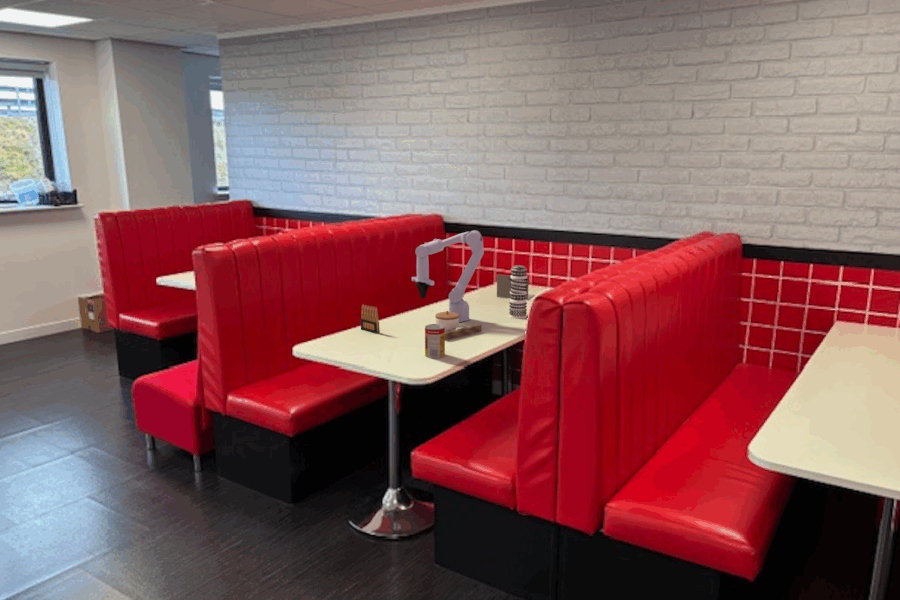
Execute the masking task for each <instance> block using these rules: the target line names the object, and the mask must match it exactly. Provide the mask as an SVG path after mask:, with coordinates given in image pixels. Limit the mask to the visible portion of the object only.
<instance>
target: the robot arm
mask: <svg viewBox="0 0 900 600" xmlns="http://www.w3.org/2000/svg"><path fill="white" fill-rule="evenodd" d="M457 243H462V244H467V246H468V247H469V248H470V250H471V253H472V254H471V256H470V258H469V260H468V262H467V264H466V266H465V268H464V270H463V271H462V273H461V275H460V277H459V279H458V281H457V283H456V284H455V287H454V288H452V289H451V291H450V292H449V293H448V300H449V301H448V312H455V313H458V314H459V323H462V322H466V321H471V318H470V305H469V303H468V301H466V300H464V299H463V298H464V296H465V294H466V293H465V291H466V289H467V286H468V284H469V283H470V281H471V279H472V277H473V274H474V273H475V271H476V269H477V267H478V265H479V263H480V261H481V260H482V258H483V256H484V253H485V249H484V238H483V236H482V234H481V232H480V231H479V230H475V229H474V230H471V231H465V232H461V233H458V234H455V235H453V236H450V237H447V238H445V239H440V238H438V239H437V238H434V239H433V240H432V241H428V242H424V244H420V245H419V246H417V247H416V248H415V255H416V276H411V281H412V282H415V287H416V288H417V291H418V293H419V296H420V299H425V298H426V297H427V292H428V290H429V288H430V286H435V281H434V280H432V279H430V278H429V277H430V275H429V274H430V270H429V268H430V266H429V265H430V264H429V262H430V261H429V255H433V254H436V253H439V252H442V251H443V250H444V248H446V247H449V246H452V245H455V244H457Z"/></svg>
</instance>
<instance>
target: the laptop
mask: <svg viewBox="0 0 900 600" xmlns="http://www.w3.org/2000/svg"><path fill="white" fill-rule="evenodd" d="M510 277H511V275H506V274H496V297H497V298H503V299H510V298H511V294H510V287H509V285H510V284H509V282H510V280H509V278H510ZM527 279H528V280H527V281H526V282H528V283H527V284H526V285H527V286H528V287H527V288H526V289H527V291H526V292H527V294H526V301H529V300H530V299H531V298H533V297H534V296H535V294H532V293H531V294H529V276H527Z"/></svg>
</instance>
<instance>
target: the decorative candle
mask: <svg viewBox="0 0 900 600" xmlns="http://www.w3.org/2000/svg"><path fill="white" fill-rule="evenodd" d="M527 272H528V269H527V267H526V266H525V265H523V264H522V265H519V264H518V265H517V264H516V265H513V266H512V268H510V276H511V277H510V278H509V280H510V282H509V284H510V285H509V287H510V294H511V298H509V312H508V314H509V315H508V316H509V317H510V318H512V319H524V318H527V314H528V313H527V311H528V310H527V307H528V306H527V304H528V303H527V300H526V294H527V292H526V291H527V289H526V288H527V287H528V288H529V285H528V286H527V285H526V284H527V283H528V284H529V282H526V281H527V280H528V279H527V277H528V275H527V274H528V273H527Z"/></svg>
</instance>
